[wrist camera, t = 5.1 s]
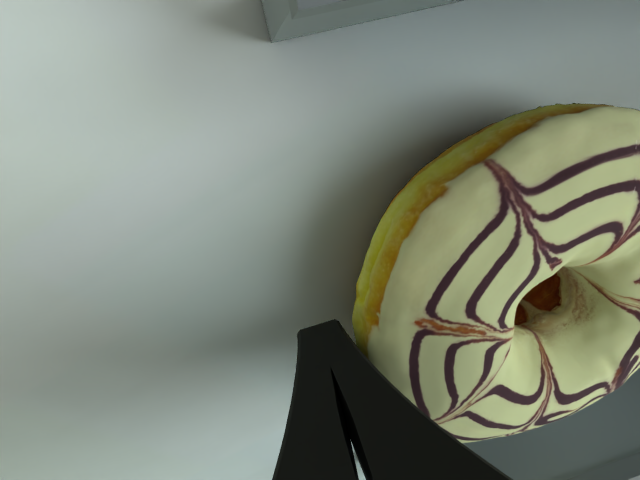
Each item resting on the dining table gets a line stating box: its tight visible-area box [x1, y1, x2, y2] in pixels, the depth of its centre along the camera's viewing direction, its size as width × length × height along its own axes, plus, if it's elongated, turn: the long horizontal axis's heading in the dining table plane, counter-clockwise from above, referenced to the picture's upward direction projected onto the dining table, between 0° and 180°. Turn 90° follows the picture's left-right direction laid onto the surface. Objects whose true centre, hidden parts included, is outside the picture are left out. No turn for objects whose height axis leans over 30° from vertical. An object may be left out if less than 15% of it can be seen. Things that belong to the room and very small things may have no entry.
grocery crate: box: [261, 0, 640, 480], centre depth 10 cm, size 18×17×4 cm
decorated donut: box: [352, 103, 640, 443], centre depth 10 cm, size 10×11×4 cm
